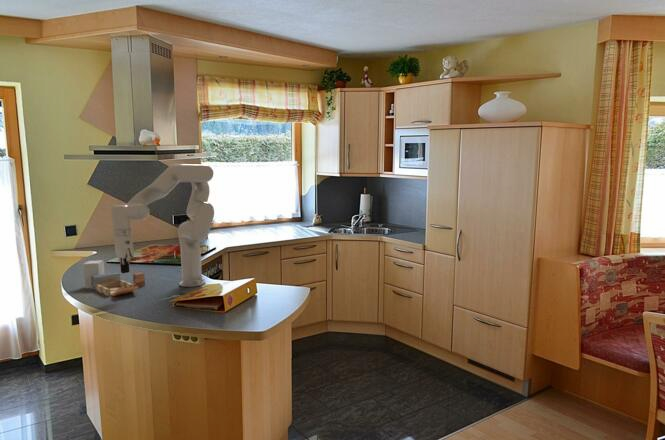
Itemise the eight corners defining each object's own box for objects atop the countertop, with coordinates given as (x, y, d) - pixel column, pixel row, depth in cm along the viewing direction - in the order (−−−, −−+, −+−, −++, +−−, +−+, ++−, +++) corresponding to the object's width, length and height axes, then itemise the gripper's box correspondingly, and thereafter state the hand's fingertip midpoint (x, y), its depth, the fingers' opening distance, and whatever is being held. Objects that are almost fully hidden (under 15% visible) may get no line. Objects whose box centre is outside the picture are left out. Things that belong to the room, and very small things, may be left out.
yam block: (145, 287, 247) (144, 273, 246) (137, 289, 244) (136, 275, 243) (141, 286, 250) (140, 272, 249) (133, 287, 247) (132, 273, 246)
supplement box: (106, 284, 254) (104, 260, 253) (99, 288, 247) (97, 263, 245) (91, 284, 254) (89, 260, 252) (84, 288, 247) (82, 263, 245)
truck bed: (134, 292, 237) (133, 278, 236) (108, 298, 229) (107, 283, 228) (116, 285, 252) (115, 271, 251) (91, 290, 243) (90, 276, 242)
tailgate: (132, 292, 236) (139, 287, 230) (111, 297, 229) (117, 292, 223) (131, 290, 236) (138, 285, 230) (110, 295, 229) (117, 289, 223)
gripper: (137, 233, 222) (140, 273, 224) (123, 230, 233) (126, 268, 235) (120, 235, 217) (123, 276, 219) (107, 232, 227) (110, 271, 230)
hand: (125, 272), depth 227 cm, fingers closed
